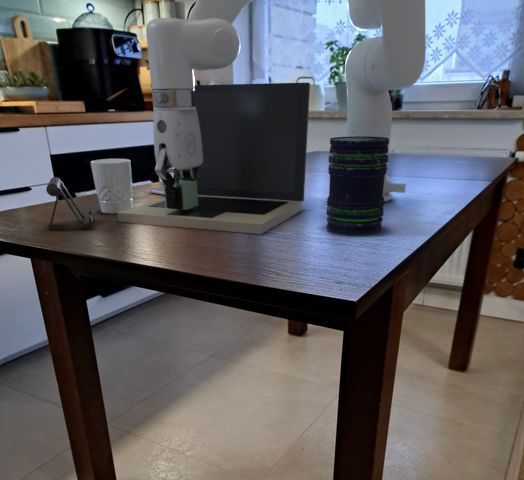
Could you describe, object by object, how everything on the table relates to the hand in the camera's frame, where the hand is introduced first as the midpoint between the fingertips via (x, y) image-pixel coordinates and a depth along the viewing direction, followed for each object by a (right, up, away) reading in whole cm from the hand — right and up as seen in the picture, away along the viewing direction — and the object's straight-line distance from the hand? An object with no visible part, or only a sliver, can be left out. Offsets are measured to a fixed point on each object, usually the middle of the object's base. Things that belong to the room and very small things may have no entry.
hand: (182, 205), depth 100 cm
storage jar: (+32, -7, -8) cm, 33 cm away
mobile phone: (-5, +10, +28) cm, 30 cm away
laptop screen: (+10, +15, +8) cm, 20 cm away
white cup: (-15, +1, +10) cm, 19 cm away
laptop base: (+6, -1, +4) cm, 7 cm away
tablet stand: (-20, -5, -3) cm, 21 cm away
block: (0, 0, 0) cm, 0 cm away
